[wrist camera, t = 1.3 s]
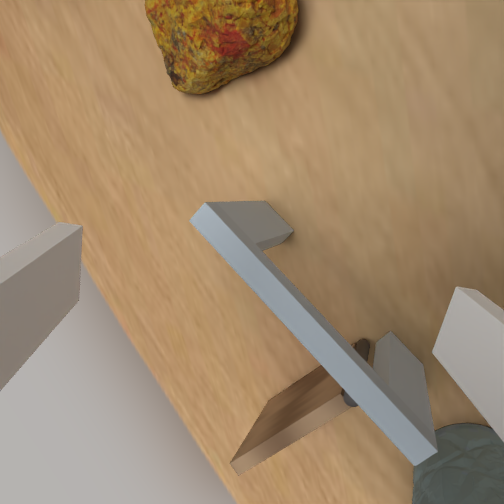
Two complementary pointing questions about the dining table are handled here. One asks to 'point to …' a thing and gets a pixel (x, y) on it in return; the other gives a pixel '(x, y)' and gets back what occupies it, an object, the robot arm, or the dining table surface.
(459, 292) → the robot arm
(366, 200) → the dining table surface
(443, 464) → the teal cup
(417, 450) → the grey rectangular arch
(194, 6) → the rock
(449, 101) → the dining table surface
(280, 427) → the door
